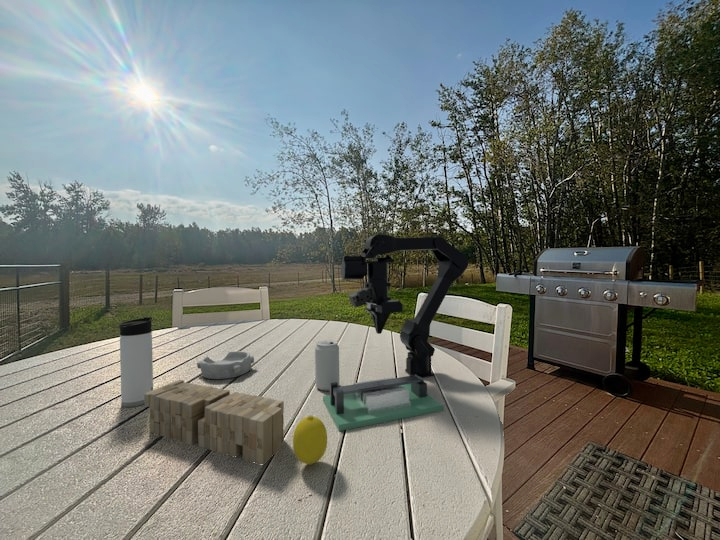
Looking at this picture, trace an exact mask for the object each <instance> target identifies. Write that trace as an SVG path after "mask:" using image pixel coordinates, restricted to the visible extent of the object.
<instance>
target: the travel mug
mask: <svg viewBox="0 0 720 540" xmlns="http://www.w3.org/2000/svg"><path fill="white" fill-rule="evenodd" d="M152 321H153V319H152V316H151V317H150V316H145V317H142V318H135V319H130V320H126V321H123V322H122V323H120V324H119V354H120V355H119V356H120V359H119V361H120V397H121V399H120V400H121V401H120V403H121V406H122V407H124V408H134V407H139V406H143V405H145V402H144V394H145V393H147V392H150V391H152V390H154V374H153V373H154V372H153V371H154V368H153V366H154V365H153V363H154V362H153V358H154V357H153V330H152V326H153V325H152Z"/></svg>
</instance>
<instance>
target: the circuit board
mask: <svg viewBox="0 0 720 540" xmlns="http://www.w3.org/2000/svg"><path fill="white" fill-rule="evenodd" d="M402 386H404V387H405V390H409V401H410V402H411V406H410V407H404V408H399V409H393V410H388V411H383V412H377V413H372V414H368V413H367V412H366V410H365V409H364V408H363V407H362V405H361V404H360V403H359V402H358V400H357V399H356V398H355V396H354V395H353V393H350V394H344V413H343V414H336V413H335V405H331V404H330V394H328V395H323V396H322V402H323V404H324V405H325V408H326V410H327V411H328V413H329V415H330V417H331V419H332V421H333V423H334V424H335V426H336V429H337V430H338V432H341V431H346V430H352V429H355V428H361V427H365V426H366V427H367V426H370V425H376V424H381V423H386V422H391V421H392V422H393V421H396V420H402V419H407V418H411V417H417V416H422V415H426V414H431V413H437V412H442V411H444V405H443V404H442V403H441V402H439V401H438V400H437V399H436V398H434V397H432V396H431V395H430V394H429V393H427V397H422V398H419V397H418V396H416V395H415V394H414V393H413V392H411V384H405V385H401V387H402Z"/></svg>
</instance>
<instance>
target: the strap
mask: <svg viewBox="0 0 720 540" xmlns="http://www.w3.org/2000/svg"><path fill="white" fill-rule="evenodd" d="M392 378H393V377H392ZM418 382H421V383H422V382H425V379H424V378H423V377H420V376H418V375H417V374H415V375H406V376H401V377H399V376H398V377H394V378H393V379H386V380H380V381H373V382H367V383H360V384H354V383H353V384H348V385H341V386H340V385H339V386H338V387H334V388H333V394H334V396H335V391H338V390H343V391H344V394H350V393H356V392H362V391H368V390H374V389H381V388H387V387H393V386H399V385H405V384H411V383H418Z"/></svg>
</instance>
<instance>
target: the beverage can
mask: <svg viewBox="0 0 720 540" xmlns="http://www.w3.org/2000/svg"><path fill="white" fill-rule="evenodd" d="M314 366H315V367H314V371H315V374H314V375H315V387H316V388H317V389H318V390H320V391H325V392H326V391H329V392H330V383H334V382H337V383H338V387H340V384H341V383H340V347H339V344H338V341H336V340H332V339H331V340H330V339H327V340H319V341H317V342H316V343H315V346H314Z"/></svg>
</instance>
